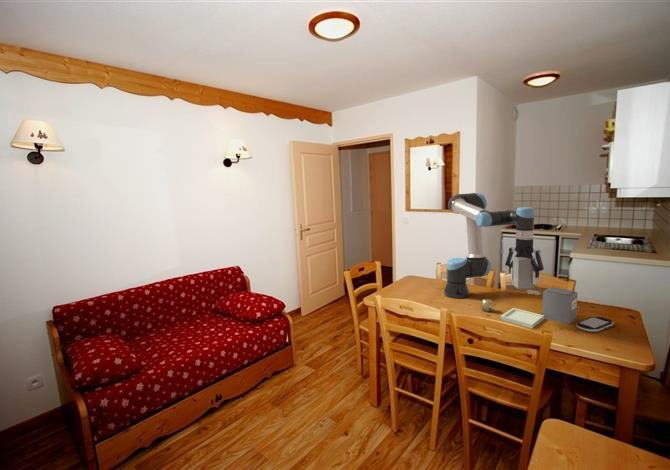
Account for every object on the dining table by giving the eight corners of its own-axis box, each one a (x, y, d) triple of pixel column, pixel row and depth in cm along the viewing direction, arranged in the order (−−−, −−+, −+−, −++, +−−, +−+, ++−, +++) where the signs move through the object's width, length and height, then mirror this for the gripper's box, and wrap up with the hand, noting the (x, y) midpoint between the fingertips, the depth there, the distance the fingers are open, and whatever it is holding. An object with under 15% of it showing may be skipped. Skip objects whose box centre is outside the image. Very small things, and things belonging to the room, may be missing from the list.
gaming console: (593, 335, 145) (593, 330, 145) (571, 327, 153) (572, 323, 153) (616, 325, 153) (617, 320, 152) (595, 318, 161) (595, 314, 161)
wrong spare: (480, 310, 179) (480, 300, 178) (484, 308, 182) (484, 298, 181) (489, 313, 175) (489, 302, 174) (493, 310, 178) (493, 300, 177)
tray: (500, 319, 166) (500, 315, 166) (513, 311, 175) (513, 307, 175) (532, 328, 154) (532, 324, 154) (544, 319, 163) (544, 315, 163)
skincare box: (528, 284, 165) (529, 254, 163) (535, 288, 158) (536, 257, 156) (511, 285, 166) (512, 255, 164) (517, 289, 159) (518, 258, 157)
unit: (541, 317, 165) (543, 290, 163) (549, 311, 171) (550, 285, 169) (570, 324, 156) (571, 296, 154) (577, 318, 162) (578, 291, 160)
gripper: (498, 237, 165) (497, 279, 168) (547, 241, 147) (545, 287, 151) (504, 235, 169) (504, 275, 173) (553, 239, 152) (551, 284, 155)
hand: (523, 281), depth 162 cm, fingers closed on skincare box, 10 cm apart
